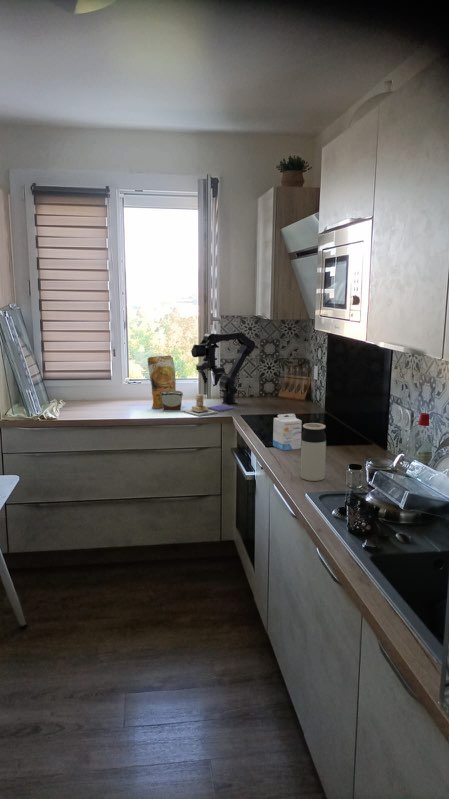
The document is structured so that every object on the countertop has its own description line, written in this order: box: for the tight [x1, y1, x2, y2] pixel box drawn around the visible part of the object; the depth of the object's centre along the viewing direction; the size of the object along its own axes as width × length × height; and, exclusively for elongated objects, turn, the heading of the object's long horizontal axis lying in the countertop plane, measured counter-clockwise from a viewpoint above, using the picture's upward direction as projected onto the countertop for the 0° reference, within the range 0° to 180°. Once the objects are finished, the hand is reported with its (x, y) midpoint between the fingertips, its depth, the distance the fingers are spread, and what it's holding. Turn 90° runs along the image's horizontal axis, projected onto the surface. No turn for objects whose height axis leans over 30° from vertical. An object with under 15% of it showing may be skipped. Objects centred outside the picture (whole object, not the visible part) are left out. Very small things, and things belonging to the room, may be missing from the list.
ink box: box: [272, 413, 303, 451], centre depth 220 cm, size 9×8×13 cm
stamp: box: [191, 394, 209, 413], centre depth 287 cm, size 6×6×9 cm
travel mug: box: [300, 422, 327, 482], centre depth 182 cm, size 8×8×18 cm
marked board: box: [181, 408, 219, 417], centre depth 288 cm, size 12×15×1 cm
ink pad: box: [208, 404, 236, 413], centre depth 296 cm, size 11×11×1 cm
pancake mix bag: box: [147, 354, 177, 409], centre depth 302 cm, size 7×19×28 cm, turn 133°
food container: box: [160, 390, 184, 412], centre depth 295 cm, size 12×6×10 cm, turn 84°
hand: (210, 384), depth 304 cm, fingers open, 9 cm apart
